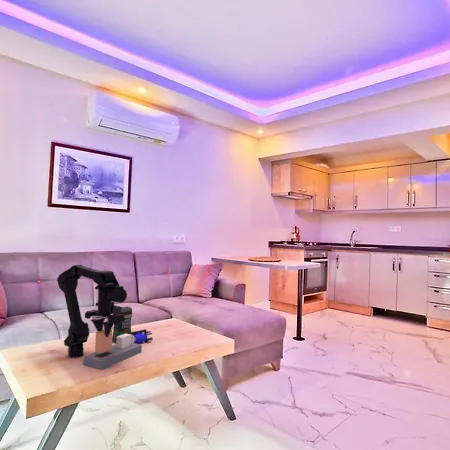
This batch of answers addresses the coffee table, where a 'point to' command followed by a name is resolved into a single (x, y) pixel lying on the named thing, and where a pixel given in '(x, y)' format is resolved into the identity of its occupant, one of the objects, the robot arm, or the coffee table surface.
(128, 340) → the pale pink plug
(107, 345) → the terracotta plug
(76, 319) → the robot arm
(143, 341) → the character figurine
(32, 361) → the coffee table surface
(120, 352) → the header
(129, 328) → the coffee jar
